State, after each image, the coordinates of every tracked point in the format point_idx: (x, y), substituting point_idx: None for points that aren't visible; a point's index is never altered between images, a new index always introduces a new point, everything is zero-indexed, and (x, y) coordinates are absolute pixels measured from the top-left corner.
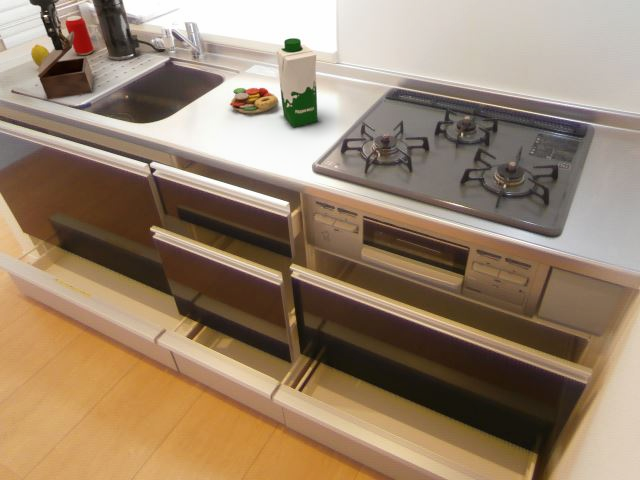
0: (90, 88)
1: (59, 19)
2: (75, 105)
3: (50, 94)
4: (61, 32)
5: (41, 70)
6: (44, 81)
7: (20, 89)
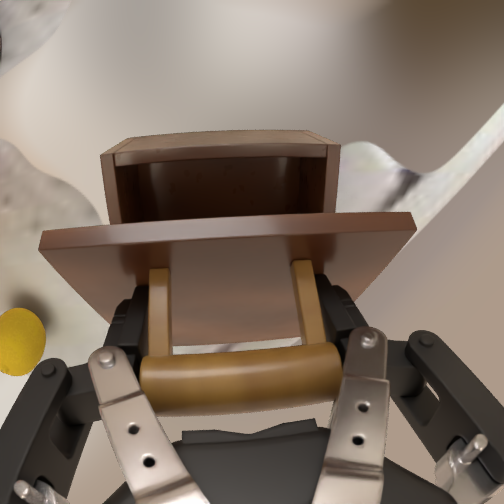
0: (312, 132)
1: (112, 407)
2: (392, 186)
3: None
4: (141, 329)
5: (297, 332)
6: None
7: None
